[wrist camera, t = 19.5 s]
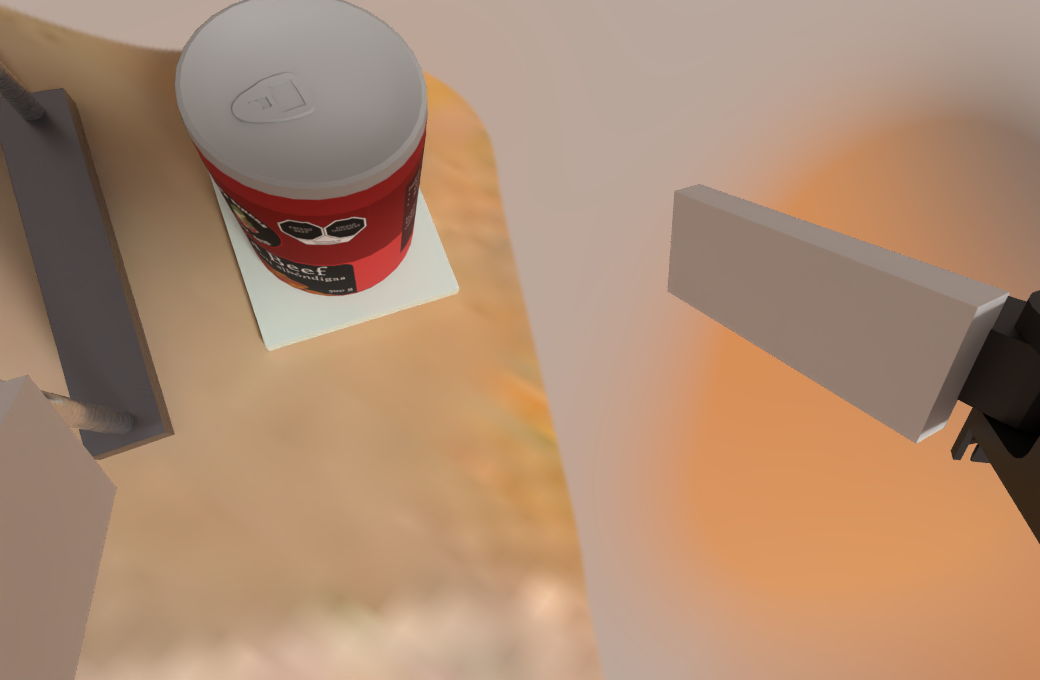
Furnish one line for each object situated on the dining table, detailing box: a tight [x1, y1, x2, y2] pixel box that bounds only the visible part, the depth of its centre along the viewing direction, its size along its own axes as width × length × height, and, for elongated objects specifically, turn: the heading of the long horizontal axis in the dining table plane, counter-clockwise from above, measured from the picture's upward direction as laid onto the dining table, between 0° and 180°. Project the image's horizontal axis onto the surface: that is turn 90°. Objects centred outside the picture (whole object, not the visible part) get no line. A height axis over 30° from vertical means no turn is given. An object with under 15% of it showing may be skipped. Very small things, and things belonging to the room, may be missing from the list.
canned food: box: [175, 0, 428, 296], centre depth 23 cm, size 8×8×11 cm
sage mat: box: [208, 171, 459, 351], centre depth 28 cm, size 10×10×1 cm
